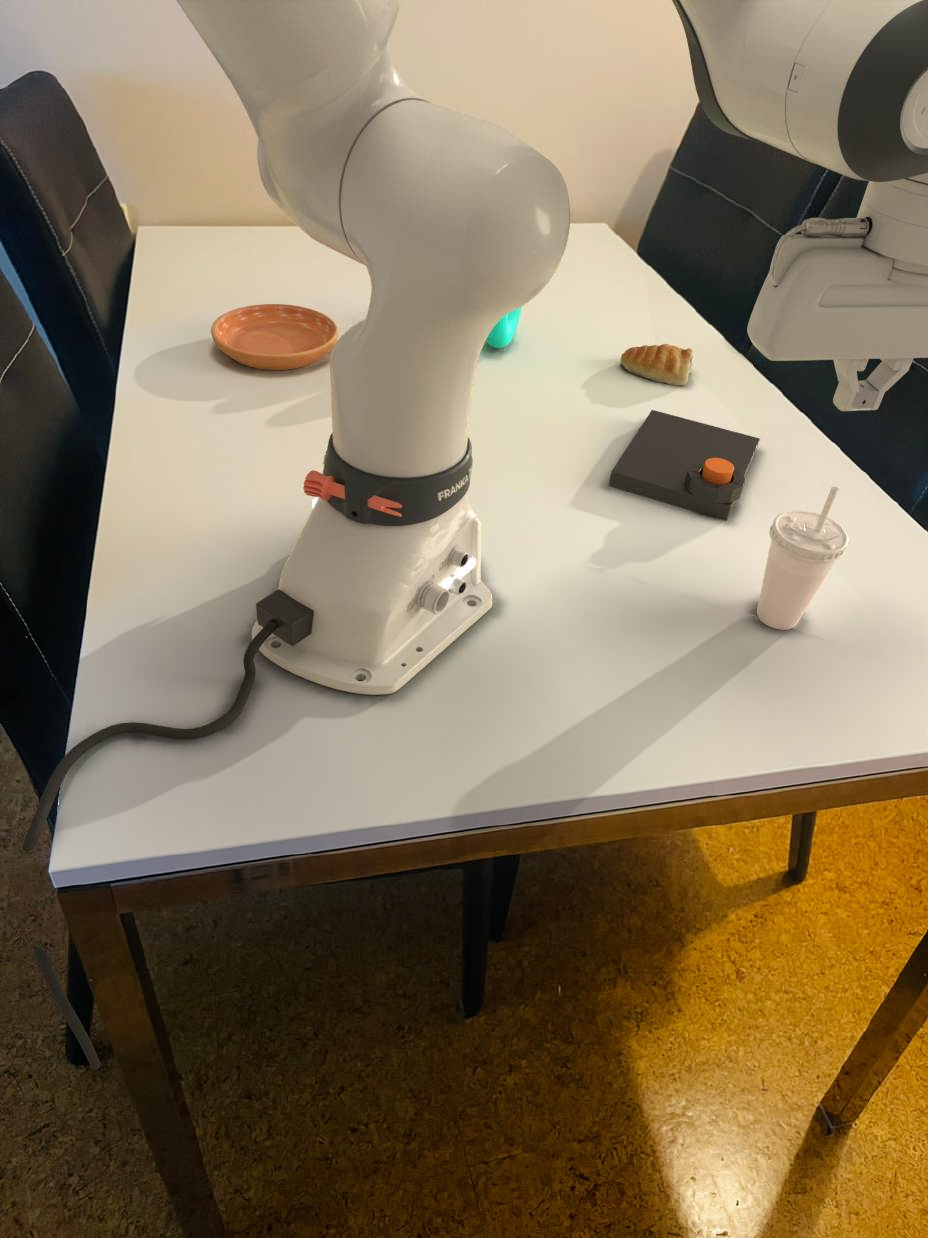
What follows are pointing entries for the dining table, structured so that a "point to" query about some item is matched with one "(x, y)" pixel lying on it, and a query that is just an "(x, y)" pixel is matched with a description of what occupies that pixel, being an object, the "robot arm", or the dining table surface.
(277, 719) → the dining table surface
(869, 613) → the dining table surface
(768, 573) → the smoothie
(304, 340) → the saucer
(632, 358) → the pastry
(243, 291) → the dining table surface
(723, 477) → the button
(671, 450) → the scale
